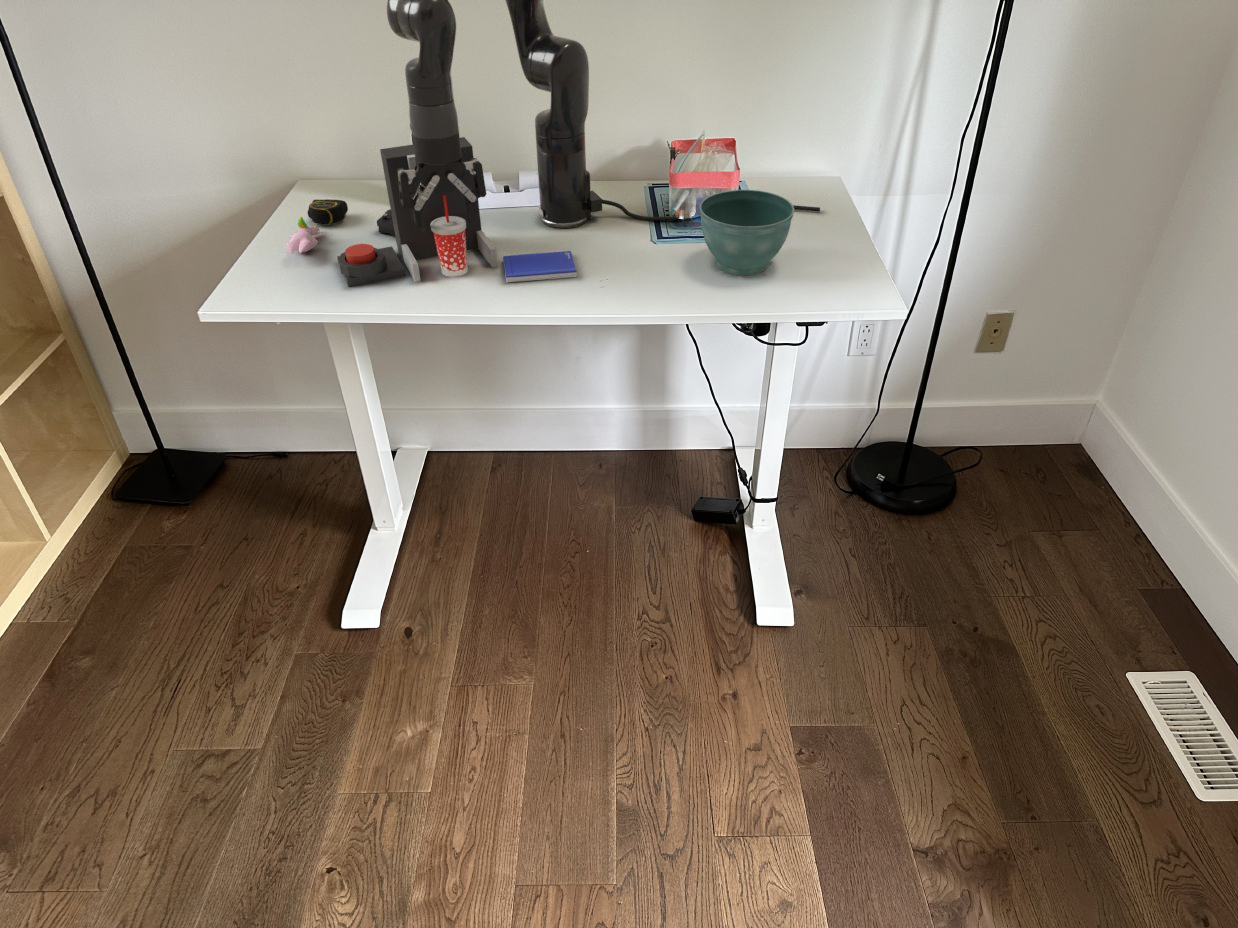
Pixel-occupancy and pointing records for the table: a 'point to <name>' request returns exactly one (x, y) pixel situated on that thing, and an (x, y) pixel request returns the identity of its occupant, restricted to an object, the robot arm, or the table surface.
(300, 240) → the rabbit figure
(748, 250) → the flower pot
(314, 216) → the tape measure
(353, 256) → the power button
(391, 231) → the game controller
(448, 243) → the beverage cup
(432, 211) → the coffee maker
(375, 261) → the button deck
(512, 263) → the hard drive
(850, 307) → the table surface
